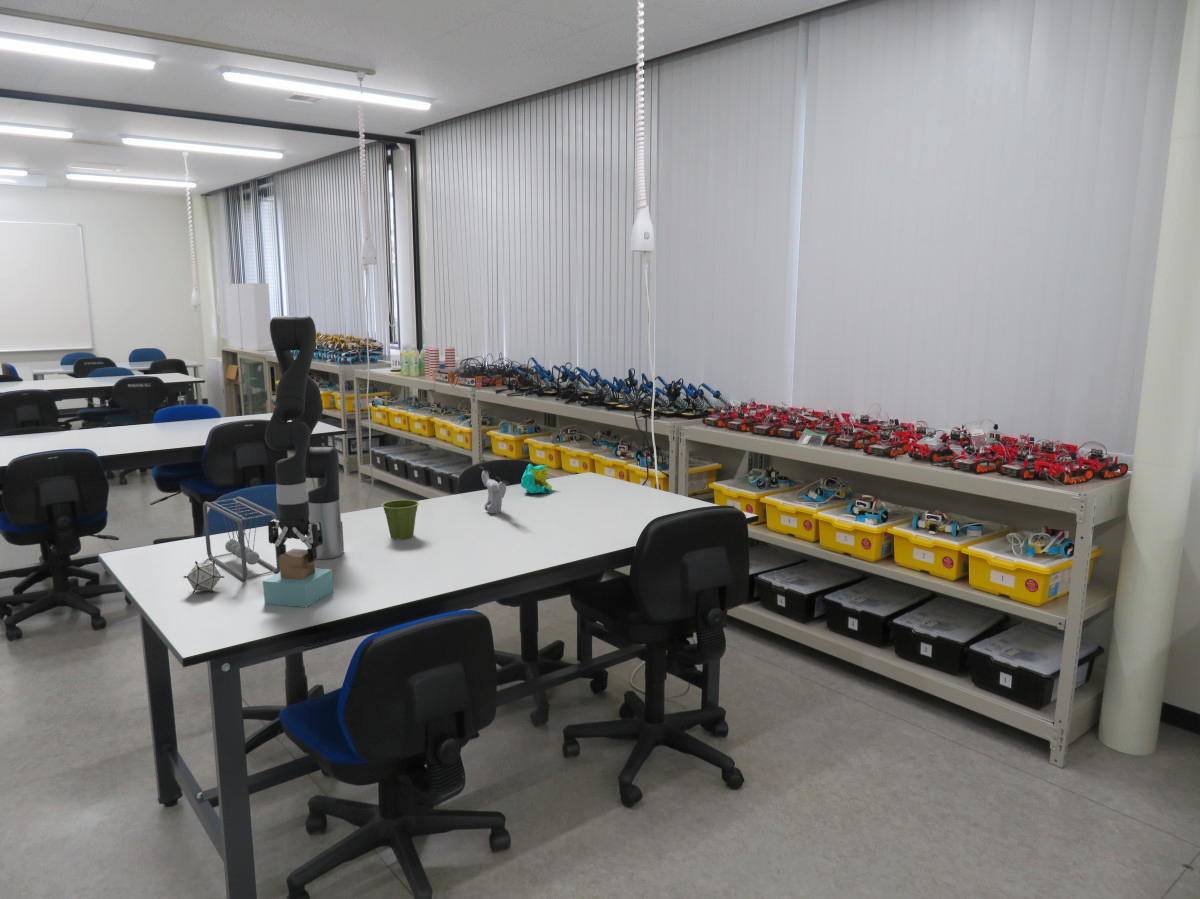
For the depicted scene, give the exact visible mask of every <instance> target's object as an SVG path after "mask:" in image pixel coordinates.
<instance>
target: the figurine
mask: <svg viewBox="0 0 1200 899" xmlns="http://www.w3.org/2000/svg"><path fill="white" fill-rule="evenodd" d="M478 467H479V469H480V470H482V472H481V480H482V483H483V486H484V487H486V488H487V501H486V502H485V504H484V510H485V511H486V512H488V514H491V513H497V514H500V513H501V511H502V507H503V506H502V501H503V498H504V497H505V494H506V492H507V486H509V485H510V483H509V482H508V481H506V480H504V478H503V477H501V478H499V477H498V476H496V475H495V478H496V479H498V480H499V482H498V481H496V480H495V479H494V478H490V475H489V474H491V471H489V470H487V468H486V467H484V466H483V465H478ZM499 512H500V513H499ZM491 515H492V514H491Z"/></svg>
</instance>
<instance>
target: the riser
mask: <svg viewBox="0 0 1200 899" xmlns="http://www.w3.org/2000/svg"><path fill="white" fill-rule="evenodd" d="M333 582H334V581H333V569H329V568H316V567H315V573H313V574H311V575H310V576H308V577H306V578H304V579H302V580H296V579H285V578H281V575H280V572H279V573H276V574H273V575H272V576H270V577H267V578H266V579H264V580H262V586H263V597H264V598H263V599H264V604H265V603H266V604H265V605H274V604H276V606H284V605H288V606H287V607H294V606H299V607H298V608H304V607H307V608H309V607H310V606H312V605H313V604H315V603H316V601H317V602H318V601H320V600H322V599H323V598H324V596H325V597H326V596H328V595H330V594H331V593H333V592H334V585H333ZM329 593H330V594H329ZM322 597H323V598H322ZM319 599H320V600H319ZM311 604H312V605H311ZM309 605H310V606H309ZM308 606H309V607H308Z"/></svg>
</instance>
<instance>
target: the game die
mask: <svg viewBox="0 0 1200 899" xmlns="http://www.w3.org/2000/svg"><path fill="white" fill-rule="evenodd" d="M194 562H195V565H194V566H193V568H192V569H191V571H190V572H189V573H188V574H187V576H186V575H184V576H183V578H184V579H187V580H188V582H189V584H190V585H191V587H192V589H193V591H192V594H194V592H195V593H196V592H197V591H200V592H201V591H204V592H205V591H206V592H207V591H209V592H210V593H212V594H213V593H214V590H213V589H214V588H215V586H216V585H217V584H218V582H219V581H220V580H221V578H222V579H224V578H225V576H224V575H222V576H221V574H220V572H219V569H217V567H216V566H215V564H216V563H215V561H212V562H211V563H209V562H208V563H198V561H197V560H195V561H194Z"/></svg>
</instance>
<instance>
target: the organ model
mask: <svg viewBox="0 0 1200 899" xmlns="http://www.w3.org/2000/svg"><path fill="white" fill-rule="evenodd" d="M547 467H548V466H547V465H546V464H545V465H544V464H541V465H537V466H534V465H533V464H531V463H529V464H528V465H526V469H525V470H524V472H523V475H522V476H521V484H520V487H522V488H523V489H525V490H527V491H528V492H529V493H531V494H538V493H540V494H552V493H554V492H553V489H552V488H553V486H552V485H551V484H550V483H549V482H548V481H547V480H546V479H548V476H547V475H548V472H547V471H548V468H547Z"/></svg>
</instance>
